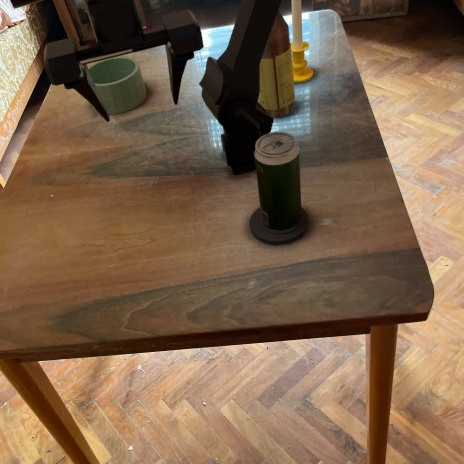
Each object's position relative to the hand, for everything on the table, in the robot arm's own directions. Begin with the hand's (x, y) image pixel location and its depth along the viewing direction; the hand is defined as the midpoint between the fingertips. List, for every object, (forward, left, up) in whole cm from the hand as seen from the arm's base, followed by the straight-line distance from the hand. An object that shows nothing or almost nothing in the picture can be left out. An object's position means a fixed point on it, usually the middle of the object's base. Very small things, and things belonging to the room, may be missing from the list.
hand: (142, 111), depth 69 cm
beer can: (-14, +14, -12) cm, 24 cm away
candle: (-29, -23, -13) cm, 39 cm away
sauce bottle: (-22, -14, -13) cm, 29 cm away
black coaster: (-14, +14, -13) cm, 24 cm away
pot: (+4, -31, -13) cm, 34 cm away
